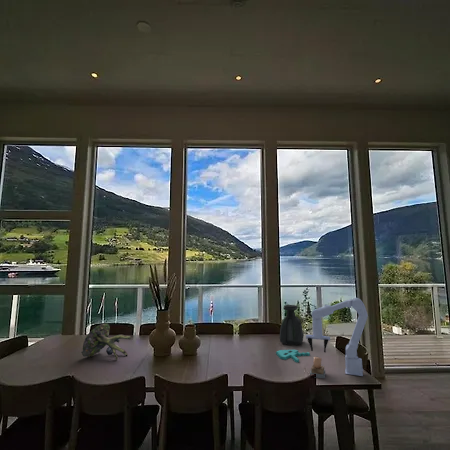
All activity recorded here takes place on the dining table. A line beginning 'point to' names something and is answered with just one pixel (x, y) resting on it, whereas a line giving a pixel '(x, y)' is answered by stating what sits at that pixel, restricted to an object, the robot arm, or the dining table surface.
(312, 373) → the tower base slab
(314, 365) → the terracotta cylinder
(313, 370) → the tower top slab
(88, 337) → the green textured branching piece
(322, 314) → the robot arm
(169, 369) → the dining table surface
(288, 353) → the teal keys
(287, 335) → the bottle
